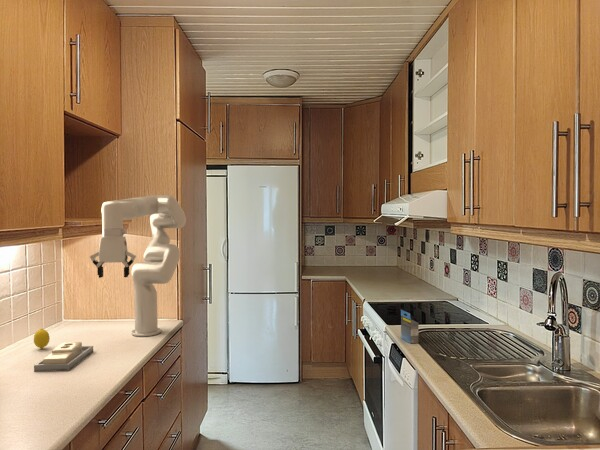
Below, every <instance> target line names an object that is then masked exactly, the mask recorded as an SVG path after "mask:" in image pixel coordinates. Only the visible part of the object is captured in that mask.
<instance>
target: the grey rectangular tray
mask: <svg viewBox="0 0 600 450" xmlns="http://www.w3.org/2000/svg"><path fill="white" fill-rule="evenodd" d="M92 353H94V345H82V353H81V354H80V355H78V356H77V357H76V358H74V359H73V360H72V361H70V362H69V363H68V364H43V359H41V360H39V361H38V362H36V363H35V364H34V365H33V372H67V371H68V372H70V370H72V369H73V368H75V367H76V366H77V365H78V364H79V363H81V362H82V361H84V360H85V359H86V358H87V357H89V356H90V355H91V354H92Z"/></svg>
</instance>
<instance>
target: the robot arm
mask: <svg viewBox="0 0 600 450" xmlns="http://www.w3.org/2000/svg"><path fill="white" fill-rule="evenodd" d="M100 212H101V223H102V224H101V226H102V236H101V237H100V240H99V245H98V247H99V248H98V251H97V252H95V253H94V254H92V255H90V256H89V258H90V259H91V261H92V264H93V265H94V266H95V267H96V268H97V276H98V279H101V278H103V277H104V266H103V265H104V264H105V263H107V264H108V263H110V264H111V263H114V264H115V263H122V264H123V265H124V267H123V278H129V275H130V266H131V265H132V264H133V263H134V262H135V260H136V258H137V255H135V254H134V253H132V252H130V251H129V250H128V242H127V238H126V236H124V235H125V234H127V232H128V230H125V229H124V224H123V223H124V221H130V220H131V221H132V220H134V219H135V218H142V217H143V218H144V217H148V216H149V224H150V225H149V226H150V229H151V230H150V231H151V238H150V240H149V243H148V244H147V247H146V249H145V251H144V253H143V261H138V262H136V263H135V264H133V266H132V268H131V278H132V281H133V290H134V292H133V293H134V329H132V331H131V335H132V336H135V337H151V336H156V335H160V334H161V333H162V328H160V327H158V322H159V321H158V291H157V289H156V287H155V286H154V285H155V284H157V285H164V284H168V283H169V282H171V280H172V278H173V276H174V274H175V272H176V269H177V267H178V263H179V262H180V258H181V257H180V256H181V251H180V249H179V247H178V246H177V245H176V244H174V243H172V244H171V238H170V236H169V234H168V233H167V232H166V230H165V229H182V228H183V227H185V225H186V223H187V217H186V213H185V212H184V210H183V208H182V206H181V204H180V203H179V201H177V199H176V198H175V197H174V196H173V195H170V194H160V195H157V194H151V195H145V196H139V197H131V198H124V199H123V198H122V199H115V200H109V201H103V203H102V205H101V210H100ZM97 257H98V260H97V259H96V258H97ZM129 257H130V260H129ZM128 260H129V261H128Z"/></svg>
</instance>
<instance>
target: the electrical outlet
mask: <svg viewBox="0 0 600 450" xmlns="http://www.w3.org/2000/svg"><path fill="white" fill-rule="evenodd" d="M82 346H83V343H82V341H71V342H70V341H69V342H66V341H65V342H61V343H60V344H59V345H57V346H56V347H55V348H54V349H51V353H49V354H48V355H47V356H45V357H44V358H42V360H43V364H68V363H69V362H70V361H72V360H73V359H74V358H76V357H77V356H78V355H80V354H81V353H82Z"/></svg>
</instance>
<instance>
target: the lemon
mask: <svg viewBox="0 0 600 450" xmlns="http://www.w3.org/2000/svg"><path fill="white" fill-rule="evenodd" d="M33 343H34V345H35V347H37V348H39V349H40V350H43V349H44V348H45V347H47V346H48V344H49V343H50V334H49V331H47V330H46V329H43V328H39V329H38V330H37V331H36V332H35V333H34V336H33Z"/></svg>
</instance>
